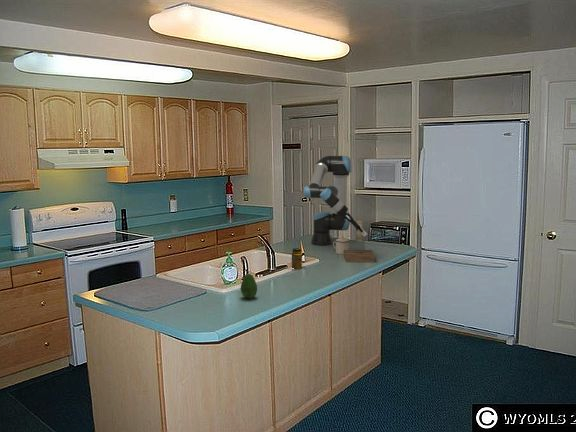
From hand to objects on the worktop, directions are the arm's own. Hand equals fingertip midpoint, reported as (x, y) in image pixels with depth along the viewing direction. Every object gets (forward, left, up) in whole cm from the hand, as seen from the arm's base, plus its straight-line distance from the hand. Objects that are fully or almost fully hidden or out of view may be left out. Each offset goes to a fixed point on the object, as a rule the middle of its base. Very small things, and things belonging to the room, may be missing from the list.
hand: (365, 234), depth 329 cm
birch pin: (0, -4, -4) cm, 6 cm away
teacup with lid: (-19, -14, -16) cm, 29 cm away
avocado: (+83, -68, -16) cm, 108 cm away
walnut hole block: (0, -4, -16) cm, 17 cm away
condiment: (+25, -45, -17) cm, 54 cm away
